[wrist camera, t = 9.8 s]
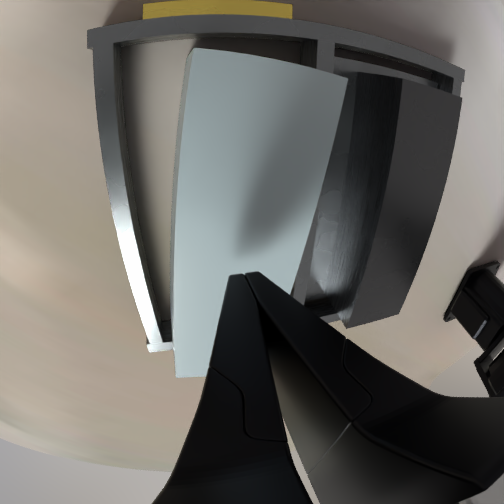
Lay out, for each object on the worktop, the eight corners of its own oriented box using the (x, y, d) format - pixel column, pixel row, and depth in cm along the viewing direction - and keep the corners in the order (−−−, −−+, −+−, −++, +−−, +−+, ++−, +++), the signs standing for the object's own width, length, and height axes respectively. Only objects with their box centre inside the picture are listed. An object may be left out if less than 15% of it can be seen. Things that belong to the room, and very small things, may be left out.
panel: (284, 72, 11) (348, 78, 7) (241, 298, 17) (264, 370, 13) (186, 58, 9) (193, 47, 5) (169, 300, 16) (175, 377, 12)
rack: (444, 56, 11) (495, 66, 8) (391, 288, 20) (418, 323, 17) (98, 21, 7) (69, 4, 4) (149, 330, 16) (150, 382, 14)
